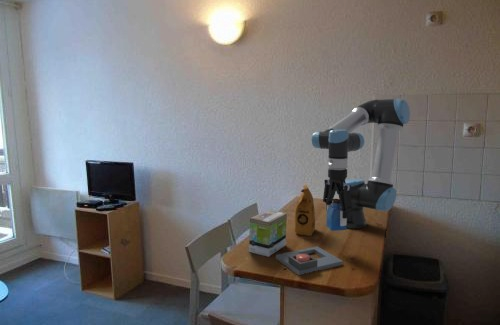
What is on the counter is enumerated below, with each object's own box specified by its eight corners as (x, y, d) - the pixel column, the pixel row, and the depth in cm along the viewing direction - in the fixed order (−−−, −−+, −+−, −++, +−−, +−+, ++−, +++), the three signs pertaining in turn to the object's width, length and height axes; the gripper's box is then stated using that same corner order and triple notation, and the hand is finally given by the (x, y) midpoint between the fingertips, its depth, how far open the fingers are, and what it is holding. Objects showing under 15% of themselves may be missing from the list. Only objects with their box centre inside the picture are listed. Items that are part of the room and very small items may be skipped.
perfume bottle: (326, 225, 147) (327, 198, 145) (340, 224, 147) (341, 197, 146) (331, 230, 141) (331, 202, 139) (346, 230, 141) (346, 201, 139)
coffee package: (291, 234, 164) (292, 189, 161) (296, 226, 176) (297, 183, 172) (312, 237, 161) (314, 190, 158) (316, 228, 173) (317, 185, 169)
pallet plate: (317, 249, 146) (317, 240, 146) (342, 264, 132) (343, 254, 131) (275, 258, 138) (275, 248, 137) (298, 275, 123) (298, 264, 123)
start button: (304, 258, 132) (304, 253, 131) (312, 263, 127) (312, 258, 127) (293, 260, 130) (293, 255, 129) (300, 265, 125) (301, 260, 125)
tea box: (269, 257, 138) (270, 221, 136) (248, 252, 144) (248, 217, 141) (286, 245, 151) (287, 212, 149) (266, 240, 156) (266, 209, 154)
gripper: (314, 165, 148) (313, 217, 151) (347, 173, 129) (346, 231, 133) (328, 163, 151) (327, 214, 155) (363, 171, 133) (361, 228, 136)
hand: (336, 222), depth 144 cm, fingers closed on perfume bottle, 8 cm apart
